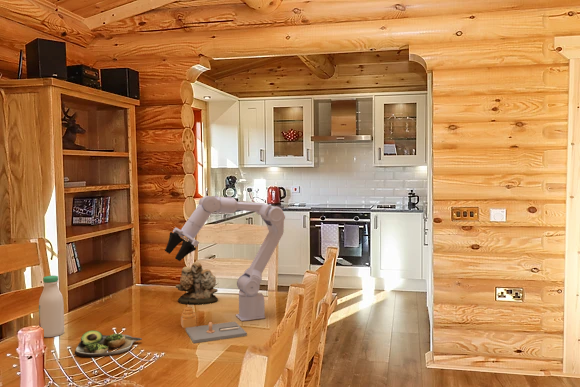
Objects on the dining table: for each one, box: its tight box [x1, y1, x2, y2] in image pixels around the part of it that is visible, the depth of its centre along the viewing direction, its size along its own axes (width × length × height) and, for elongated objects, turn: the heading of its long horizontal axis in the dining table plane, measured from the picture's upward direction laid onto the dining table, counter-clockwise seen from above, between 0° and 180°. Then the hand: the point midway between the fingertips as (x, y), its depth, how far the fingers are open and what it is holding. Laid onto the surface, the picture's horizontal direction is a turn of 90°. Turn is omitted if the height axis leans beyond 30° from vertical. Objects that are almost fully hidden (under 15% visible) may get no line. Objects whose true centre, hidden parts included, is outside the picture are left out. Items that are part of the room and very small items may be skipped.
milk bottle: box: [38, 275, 65, 338], centre depth 167 cm, size 8×8×20 cm
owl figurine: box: [175, 261, 219, 306], centre depth 210 cm, size 18×12×17 cm, turn 94°
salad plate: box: [74, 329, 143, 358], centre depth 155 cm, size 19×18×5 cm
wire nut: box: [180, 306, 197, 329], centre depth 176 cm, size 5×5×7 cm
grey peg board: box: [185, 321, 248, 344], centre depth 167 cm, size 18×14×4 cm
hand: (172, 256), depth 173 cm, fingers open, 7 cm apart
